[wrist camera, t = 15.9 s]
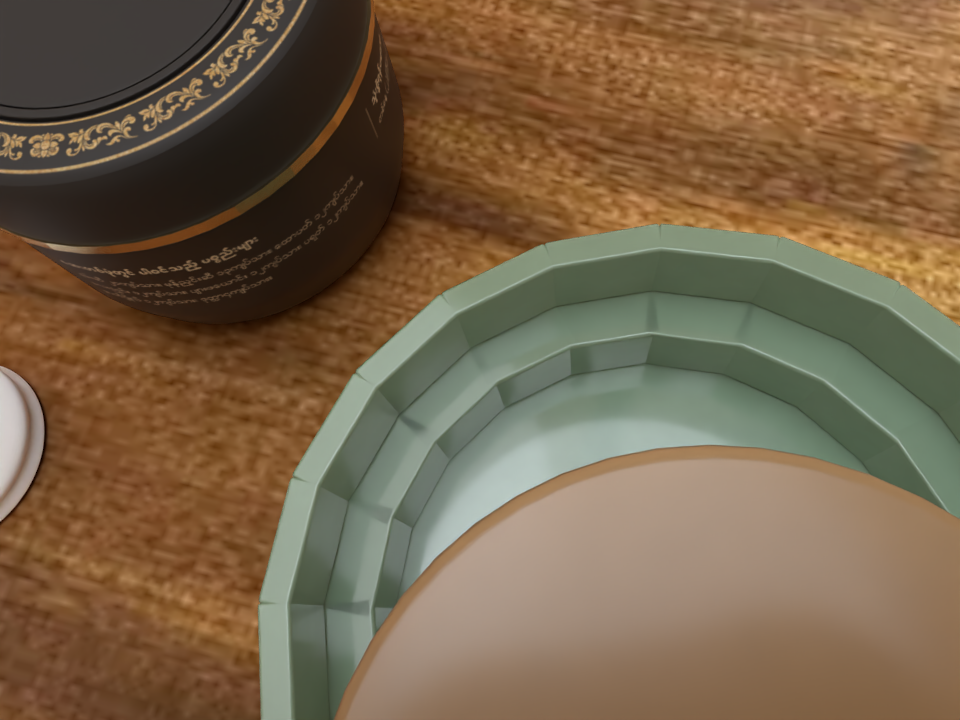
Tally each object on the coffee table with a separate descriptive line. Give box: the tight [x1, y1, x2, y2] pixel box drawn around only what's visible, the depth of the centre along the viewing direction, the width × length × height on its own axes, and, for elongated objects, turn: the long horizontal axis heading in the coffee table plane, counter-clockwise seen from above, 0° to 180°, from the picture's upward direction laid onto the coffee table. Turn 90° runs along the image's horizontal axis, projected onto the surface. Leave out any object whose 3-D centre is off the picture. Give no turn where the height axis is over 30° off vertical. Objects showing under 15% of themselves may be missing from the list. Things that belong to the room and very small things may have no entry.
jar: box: [0, 0, 404, 324], centre depth 18 cm, size 10×10×8 cm
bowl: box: [258, 224, 960, 720], centre depth 14 cm, size 14×14×4 cm
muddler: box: [334, 445, 960, 720], centre depth 8 cm, size 4×4×13 cm
